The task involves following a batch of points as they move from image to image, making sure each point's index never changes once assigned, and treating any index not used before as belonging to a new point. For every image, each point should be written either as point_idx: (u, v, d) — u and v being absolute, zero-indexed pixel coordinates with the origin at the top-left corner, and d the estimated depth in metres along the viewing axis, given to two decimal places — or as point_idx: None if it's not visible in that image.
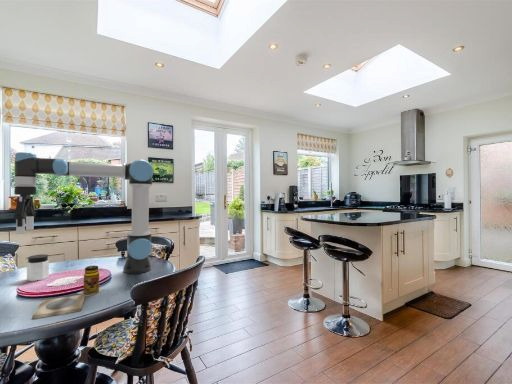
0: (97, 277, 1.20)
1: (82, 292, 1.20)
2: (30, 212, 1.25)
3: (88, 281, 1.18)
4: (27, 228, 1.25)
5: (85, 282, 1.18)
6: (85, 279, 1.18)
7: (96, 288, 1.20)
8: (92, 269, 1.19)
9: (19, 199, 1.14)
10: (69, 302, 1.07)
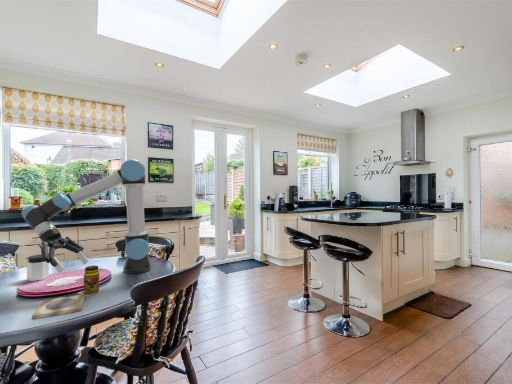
0: (97, 277, 1.20)
1: (82, 292, 1.20)
2: (74, 249, 1.28)
3: (88, 281, 1.18)
4: (83, 262, 1.28)
5: (85, 282, 1.18)
6: (85, 279, 1.18)
7: (96, 288, 1.20)
8: (92, 269, 1.19)
9: (40, 245, 1.16)
10: (69, 302, 1.07)
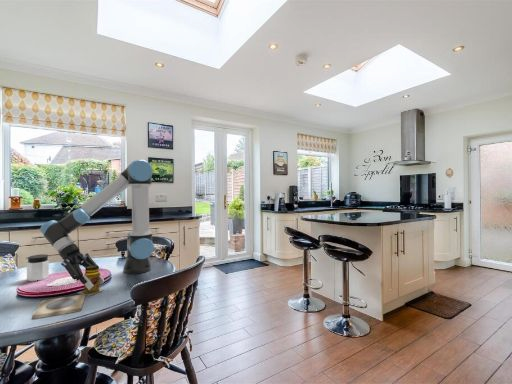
0: (97, 277, 1.20)
1: (82, 292, 1.20)
2: None
3: None
4: (99, 283, 1.23)
5: None
6: None
7: (96, 288, 1.20)
8: (92, 269, 1.19)
9: (63, 264, 1.16)
10: (69, 302, 1.07)
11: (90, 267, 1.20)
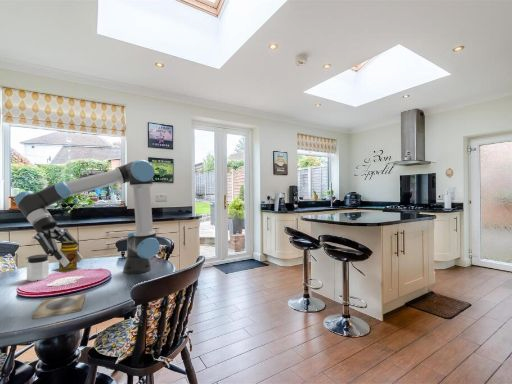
0: (74, 253, 1.08)
1: (58, 269, 1.09)
2: None
3: None
4: (77, 260, 1.12)
5: None
6: None
7: (73, 265, 1.08)
8: (69, 244, 1.07)
9: (36, 237, 1.04)
10: (69, 302, 1.07)
11: (67, 242, 1.08)
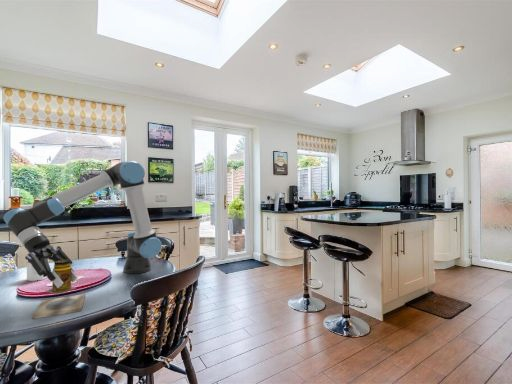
0: (68, 273, 1.04)
1: (51, 290, 1.04)
2: None
3: None
4: (72, 280, 1.08)
5: None
6: None
7: (67, 286, 1.04)
8: (63, 263, 1.03)
9: (28, 258, 1.00)
10: (69, 302, 1.07)
11: (60, 261, 1.04)
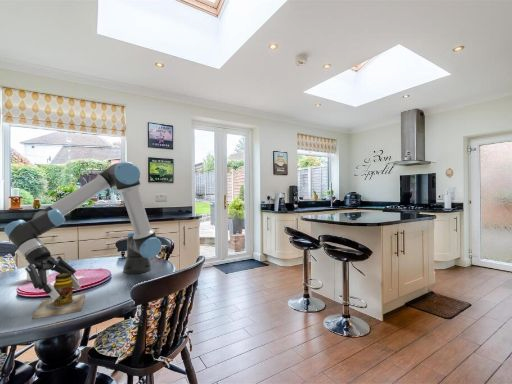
0: (69, 287, 1.05)
1: (52, 303, 1.05)
2: (65, 272, 1.10)
3: (58, 291, 1.02)
4: (75, 288, 1.10)
5: None
6: (55, 289, 1.02)
7: (68, 299, 1.04)
8: (63, 277, 1.03)
9: (27, 269, 1.00)
10: None
11: (61, 275, 1.04)
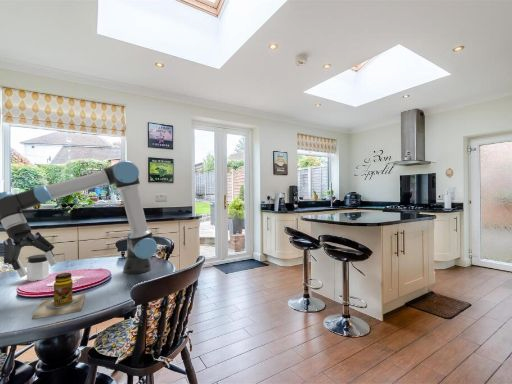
0: (69, 287, 1.05)
1: (52, 303, 1.05)
2: (43, 248, 1.16)
3: (58, 291, 1.02)
4: (51, 264, 1.17)
5: (55, 292, 1.02)
6: (55, 289, 1.02)
7: (68, 299, 1.04)
8: (63, 277, 1.03)
9: (5, 243, 1.04)
10: None
11: (61, 275, 1.04)
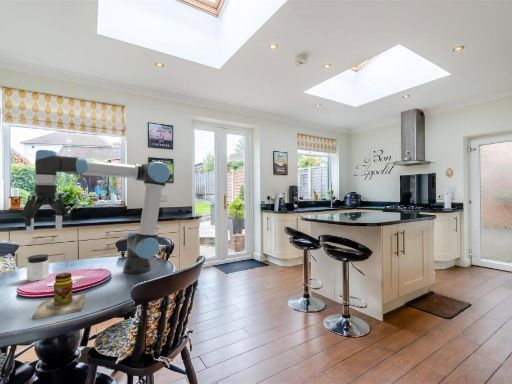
0: (69, 287, 1.05)
1: (52, 303, 1.05)
2: (57, 211, 1.22)
3: (58, 291, 1.02)
4: (56, 227, 1.23)
5: (55, 292, 1.02)
6: (55, 289, 1.02)
7: (68, 299, 1.04)
8: (63, 277, 1.03)
9: (29, 198, 1.10)
10: None
11: (61, 275, 1.04)
